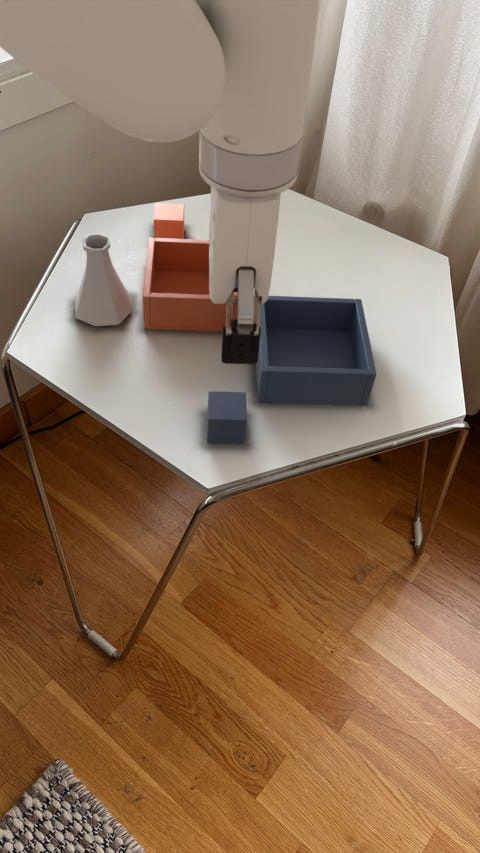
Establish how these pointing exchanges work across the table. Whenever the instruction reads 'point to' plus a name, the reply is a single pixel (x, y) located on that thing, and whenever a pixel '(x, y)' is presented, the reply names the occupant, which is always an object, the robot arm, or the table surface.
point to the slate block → (226, 417)
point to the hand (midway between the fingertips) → (237, 324)
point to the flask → (101, 287)
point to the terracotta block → (169, 221)
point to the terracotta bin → (180, 287)
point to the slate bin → (314, 351)
